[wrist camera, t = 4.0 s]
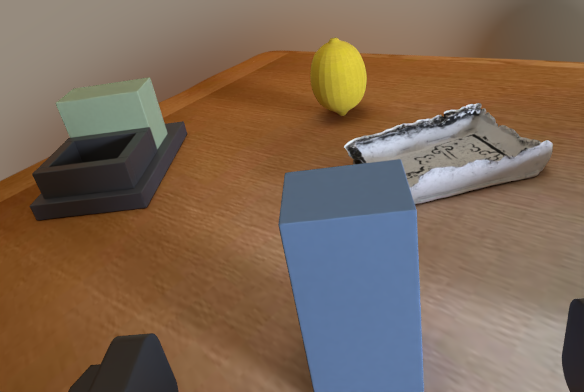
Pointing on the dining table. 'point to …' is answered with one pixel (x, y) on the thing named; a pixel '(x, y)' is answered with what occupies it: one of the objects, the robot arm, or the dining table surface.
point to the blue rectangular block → (355, 275)
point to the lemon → (338, 76)
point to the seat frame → (107, 151)
